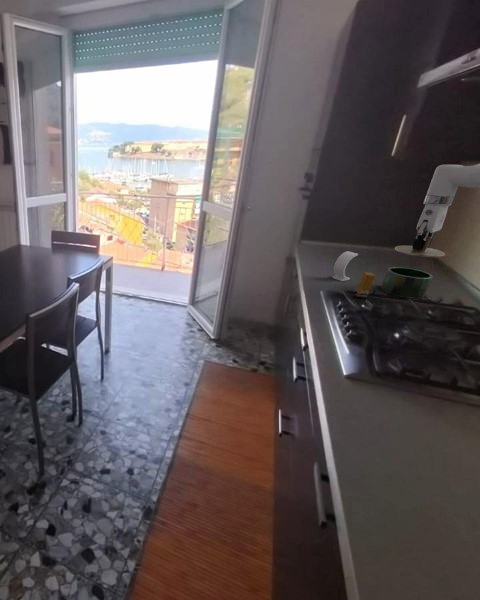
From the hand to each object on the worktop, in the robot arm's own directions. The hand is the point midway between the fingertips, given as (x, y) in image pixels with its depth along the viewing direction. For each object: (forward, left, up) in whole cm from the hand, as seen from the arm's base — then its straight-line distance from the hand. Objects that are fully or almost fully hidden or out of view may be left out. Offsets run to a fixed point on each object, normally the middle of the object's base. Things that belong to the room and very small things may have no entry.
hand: (420, 248), depth 138 cm
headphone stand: (+21, +5, -19) cm, 29 cm away
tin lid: (0, 0, -1) cm, 1 cm away
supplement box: (+6, +20, -19) cm, 28 cm away
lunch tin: (0, 0, -18) cm, 19 cm away
